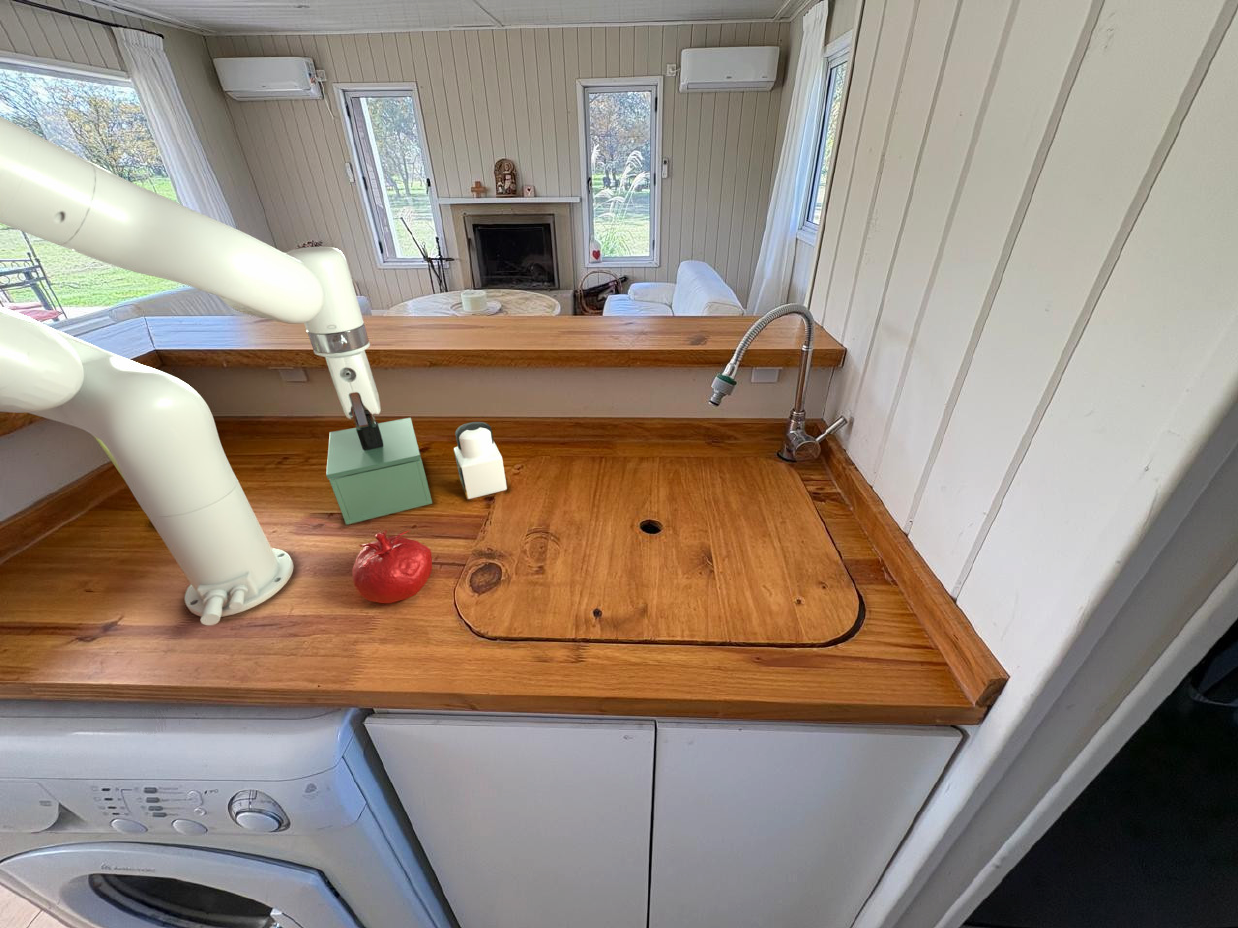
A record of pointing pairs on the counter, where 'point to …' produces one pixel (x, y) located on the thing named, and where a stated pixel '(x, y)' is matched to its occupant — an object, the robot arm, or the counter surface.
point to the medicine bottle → (479, 460)
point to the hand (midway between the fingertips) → (373, 446)
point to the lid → (353, 459)
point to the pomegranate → (391, 568)
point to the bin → (381, 491)
